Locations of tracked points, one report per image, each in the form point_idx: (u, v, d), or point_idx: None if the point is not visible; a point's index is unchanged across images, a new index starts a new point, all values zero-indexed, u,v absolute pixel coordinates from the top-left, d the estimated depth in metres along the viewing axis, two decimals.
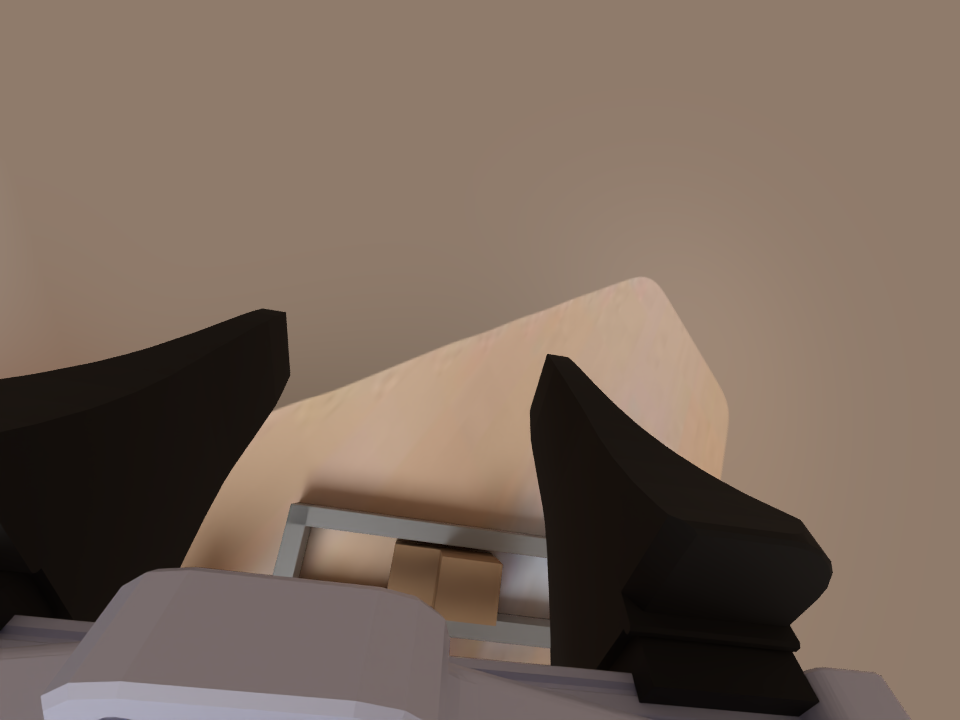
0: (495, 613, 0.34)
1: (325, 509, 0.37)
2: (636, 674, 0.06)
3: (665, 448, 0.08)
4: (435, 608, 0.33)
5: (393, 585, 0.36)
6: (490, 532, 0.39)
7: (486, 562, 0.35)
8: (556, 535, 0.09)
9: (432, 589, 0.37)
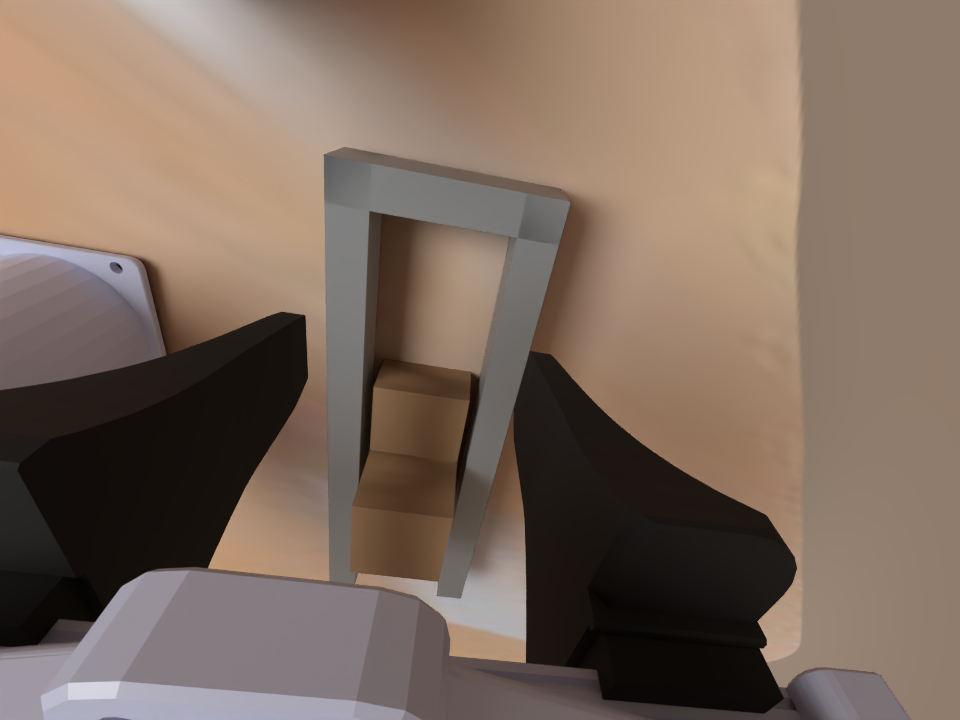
0: (367, 572, 0.21)
1: (547, 278, 0.17)
2: (600, 670, 0.06)
3: (639, 444, 0.08)
4: (368, 508, 0.19)
5: (398, 398, 0.20)
6: (480, 519, 0.24)
7: None
8: (534, 532, 0.09)
9: (395, 451, 0.22)
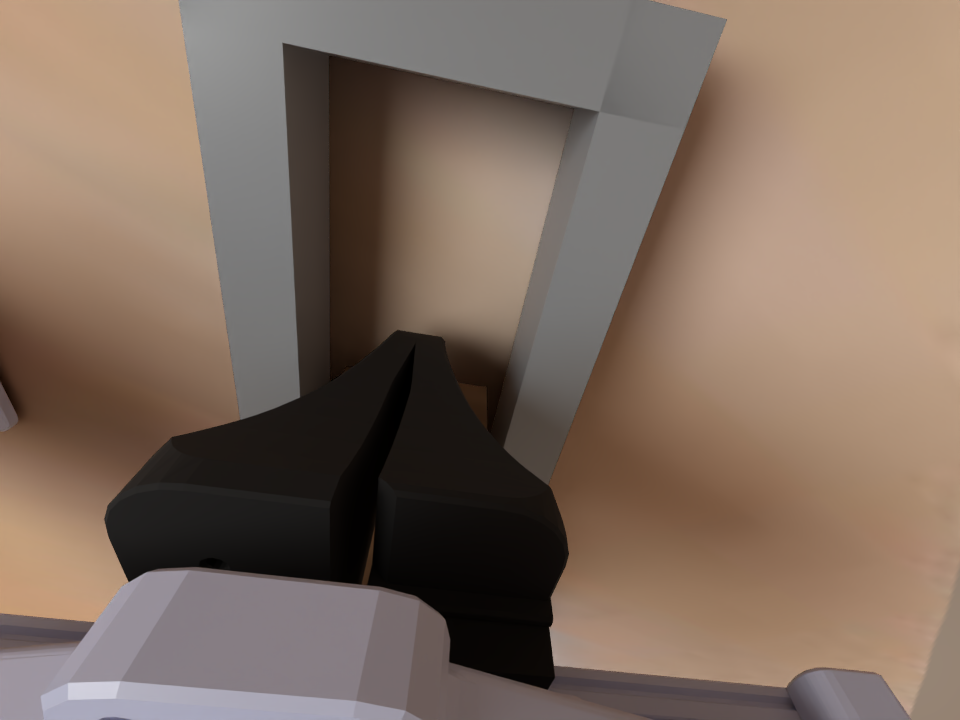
0: None
1: (650, 206, 0.08)
2: None
3: (475, 421, 0.07)
4: None
5: None
6: None
7: None
8: None
9: None
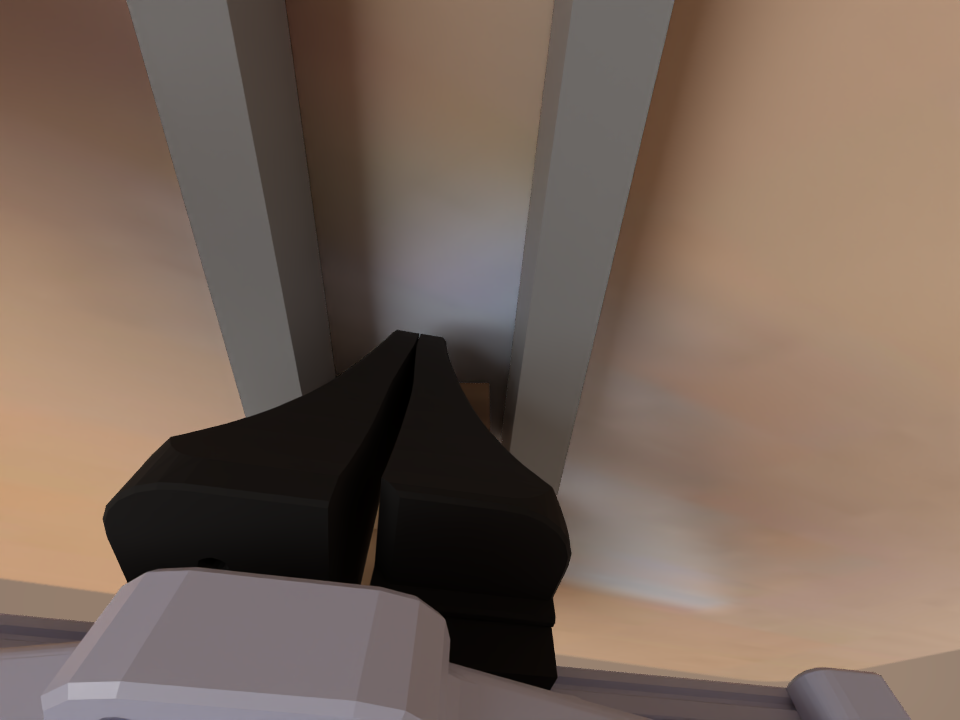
0: None
1: None
2: None
3: (477, 421, 0.07)
4: None
5: None
6: (619, 211, 0.08)
7: None
8: None
9: None
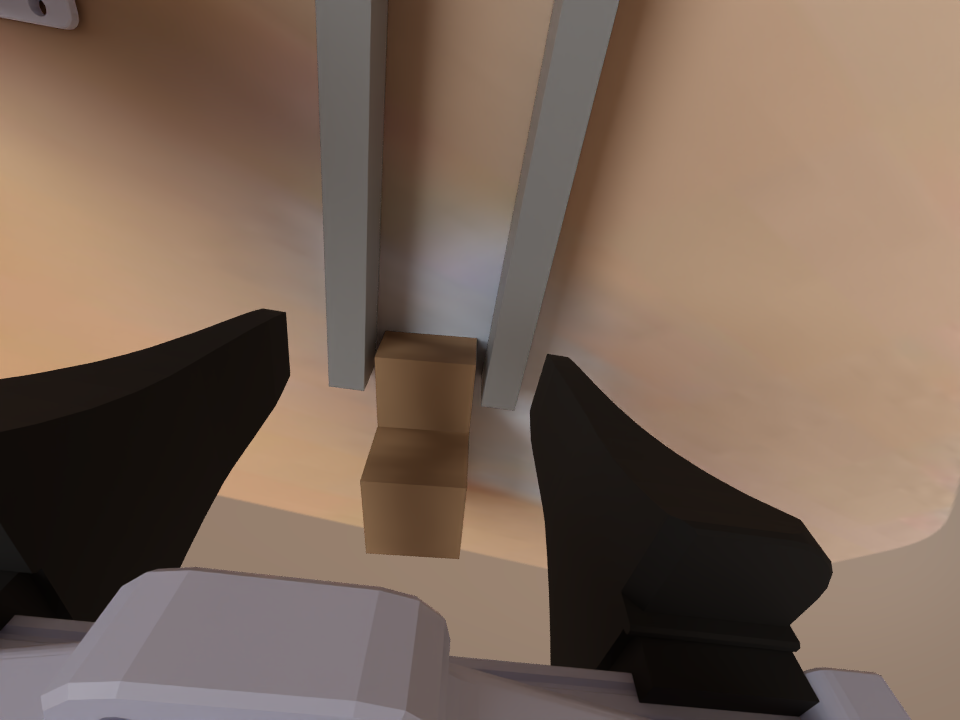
0: (384, 552, 0.20)
1: None
2: (637, 674, 0.06)
3: (665, 448, 0.08)
4: (377, 482, 0.18)
5: (401, 368, 0.19)
6: (555, 239, 0.16)
7: (460, 539, 0.20)
8: (556, 535, 0.09)
9: (404, 425, 0.21)
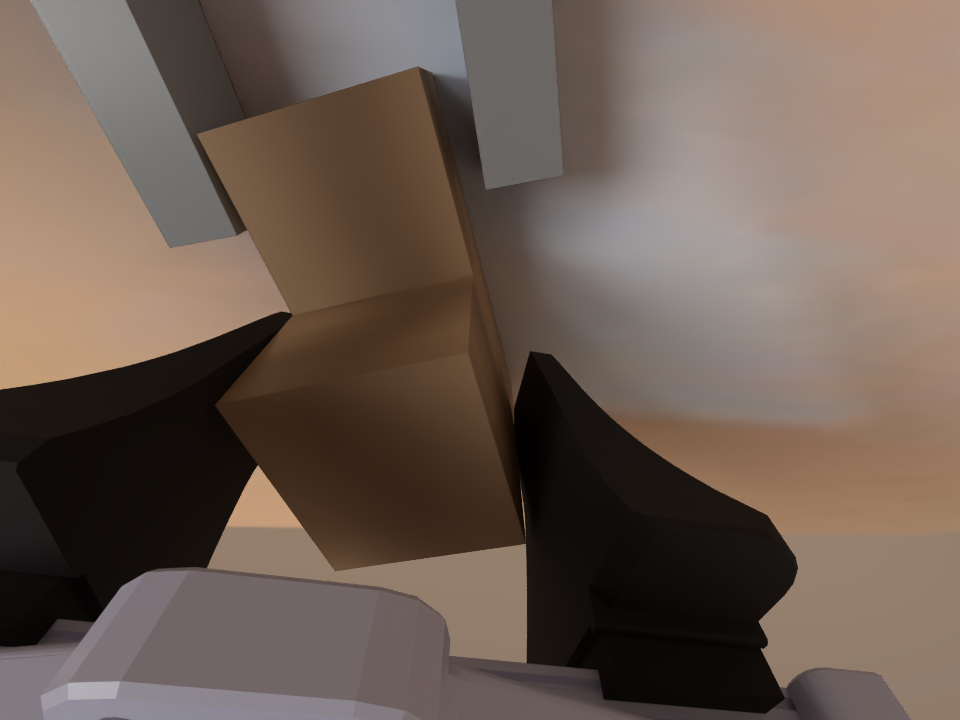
0: (368, 562, 0.10)
1: None
2: (602, 670, 0.06)
3: (640, 444, 0.08)
4: (255, 398, 0.07)
5: (265, 143, 0.08)
6: None
7: None
8: (534, 532, 0.09)
9: (340, 298, 0.10)
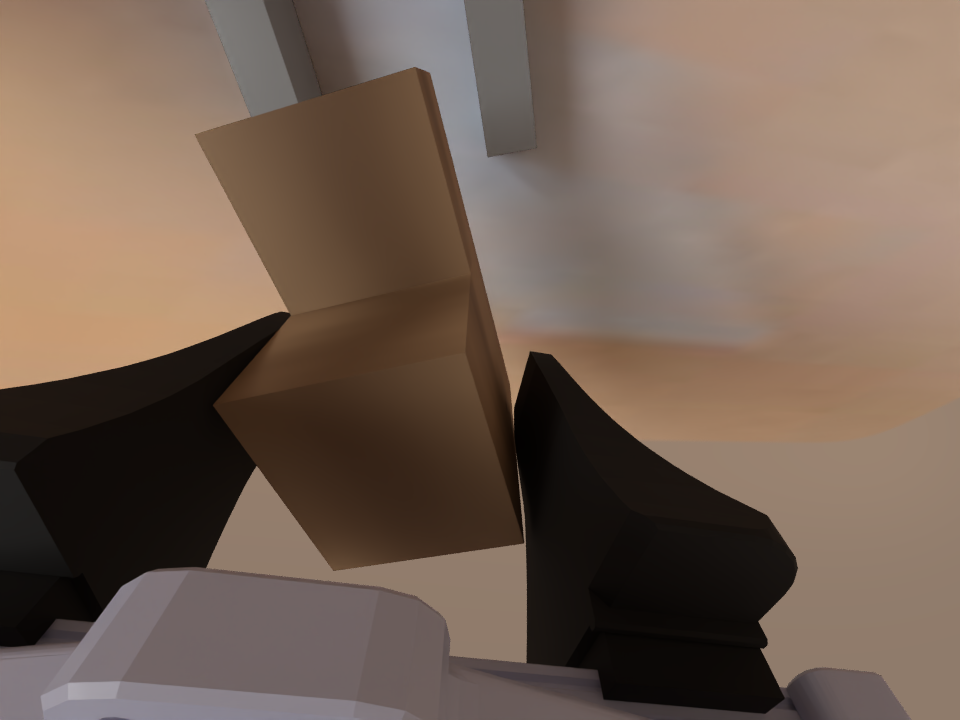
0: (366, 562, 0.10)
1: None
2: (602, 671, 0.06)
3: (640, 445, 0.08)
4: (253, 398, 0.07)
5: (262, 143, 0.08)
6: None
7: None
8: (534, 532, 0.09)
9: (338, 298, 0.10)
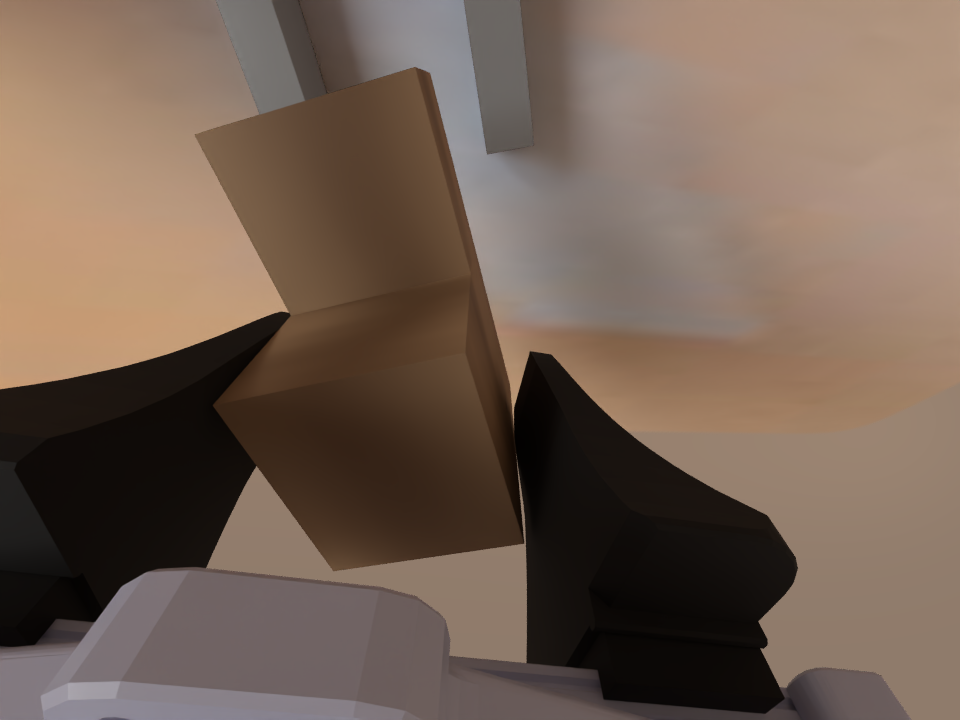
0: (366, 562, 0.10)
1: None
2: (601, 670, 0.06)
3: (640, 445, 0.08)
4: (253, 398, 0.07)
5: (262, 143, 0.08)
6: None
7: None
8: (534, 532, 0.09)
9: (338, 298, 0.10)
